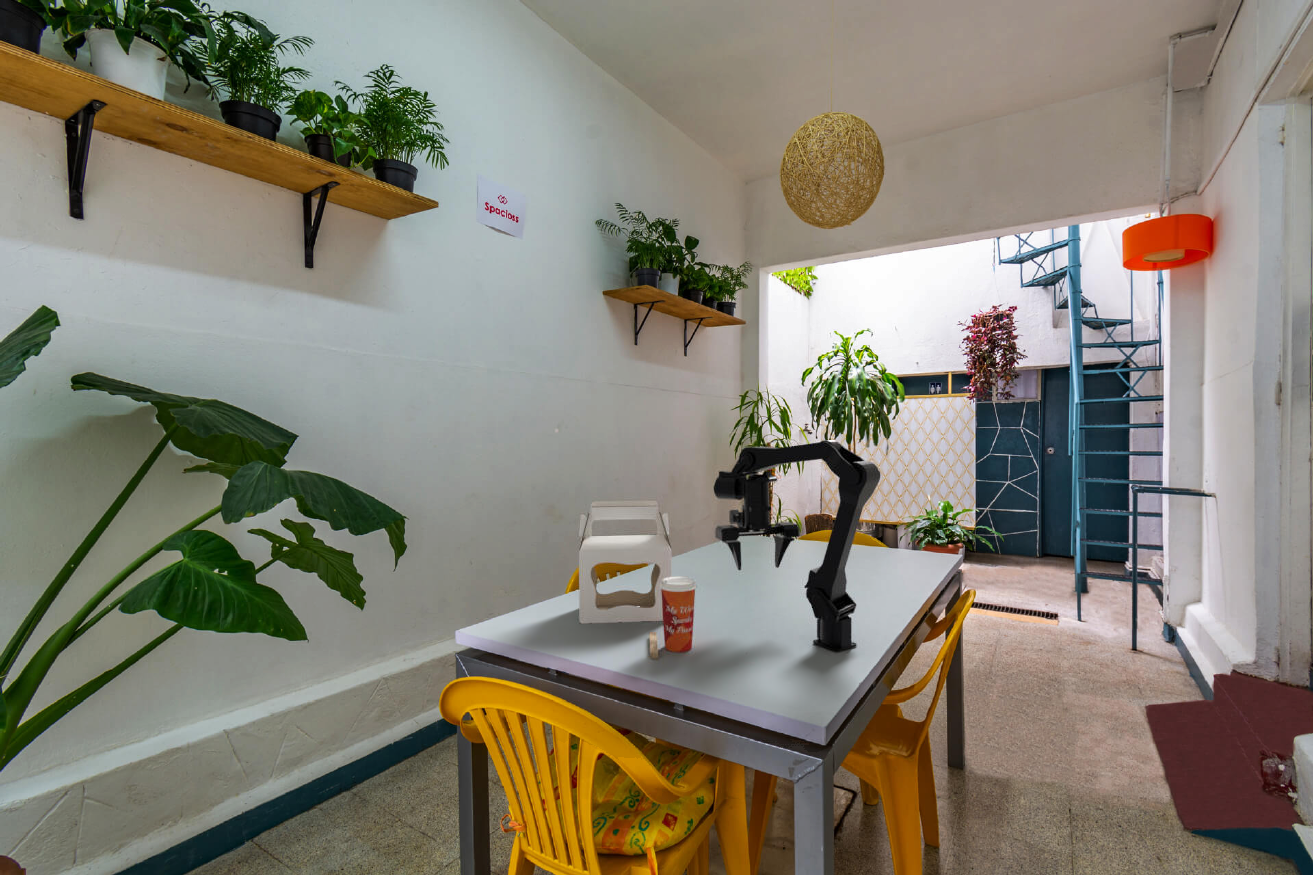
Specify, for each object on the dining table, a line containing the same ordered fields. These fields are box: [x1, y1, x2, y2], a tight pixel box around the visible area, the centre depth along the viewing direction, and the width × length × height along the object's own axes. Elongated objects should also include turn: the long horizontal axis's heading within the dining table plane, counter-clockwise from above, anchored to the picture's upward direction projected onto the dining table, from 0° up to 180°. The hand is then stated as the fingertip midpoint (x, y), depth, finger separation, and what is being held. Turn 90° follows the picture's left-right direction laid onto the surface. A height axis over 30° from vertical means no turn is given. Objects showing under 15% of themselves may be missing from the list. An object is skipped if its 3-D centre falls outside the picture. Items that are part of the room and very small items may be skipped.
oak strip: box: [648, 631, 659, 660], centre depth 125 cm, size 12×2×1 cm, turn 2°
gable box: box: [578, 499, 673, 625], centre depth 148 cm, size 22×13×28 cm, turn 95°
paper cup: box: [660, 576, 698, 653], centre depth 125 cm, size 8×8×14 cm
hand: (758, 568), depth 138 cm, fingers open, 9 cm apart
